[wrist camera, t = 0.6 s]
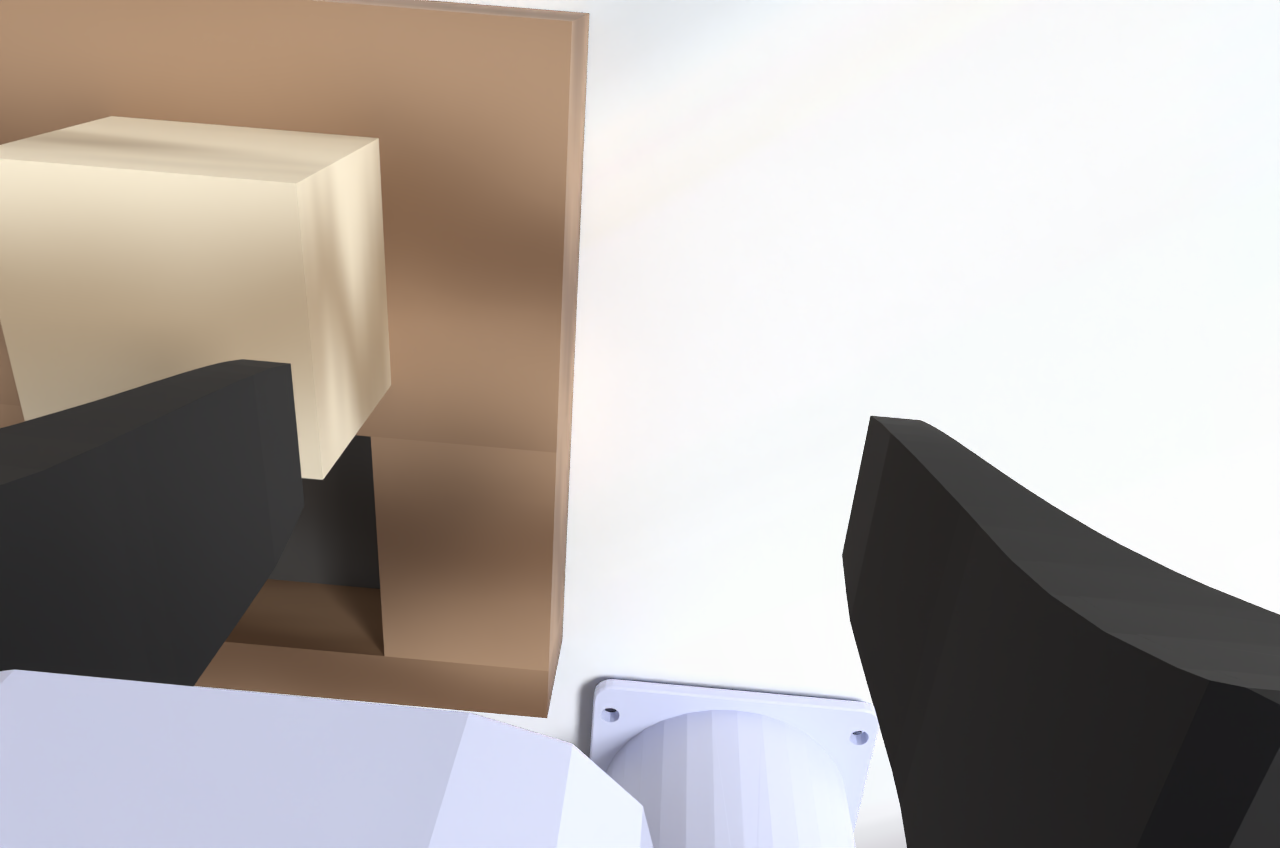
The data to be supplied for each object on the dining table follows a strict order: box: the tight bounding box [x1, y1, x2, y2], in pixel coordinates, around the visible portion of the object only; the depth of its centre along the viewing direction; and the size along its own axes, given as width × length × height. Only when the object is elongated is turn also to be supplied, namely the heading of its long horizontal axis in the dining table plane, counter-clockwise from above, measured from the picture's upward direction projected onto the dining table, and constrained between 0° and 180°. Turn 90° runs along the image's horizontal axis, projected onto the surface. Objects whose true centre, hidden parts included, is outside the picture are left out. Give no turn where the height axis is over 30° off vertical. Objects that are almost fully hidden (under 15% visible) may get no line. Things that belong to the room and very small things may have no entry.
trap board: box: [0, 0, 589, 718], centre depth 21 cm, size 16×24×3 cm, turn 86°
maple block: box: [0, 116, 391, 480], centre depth 17 cm, size 5×5×4 cm
